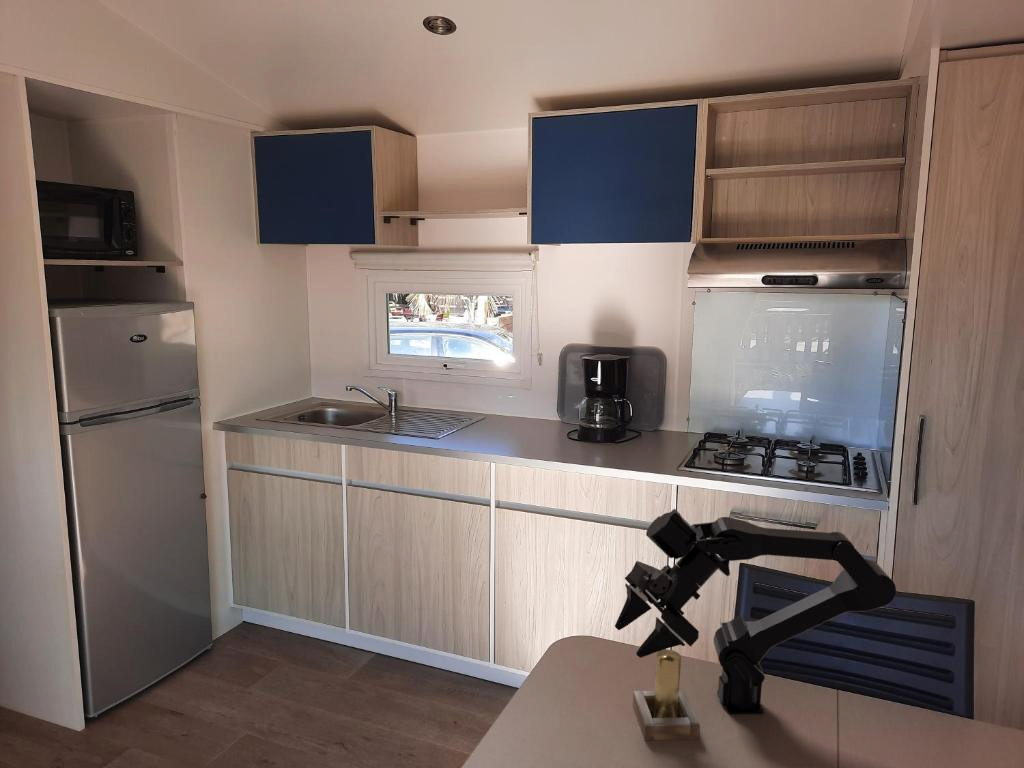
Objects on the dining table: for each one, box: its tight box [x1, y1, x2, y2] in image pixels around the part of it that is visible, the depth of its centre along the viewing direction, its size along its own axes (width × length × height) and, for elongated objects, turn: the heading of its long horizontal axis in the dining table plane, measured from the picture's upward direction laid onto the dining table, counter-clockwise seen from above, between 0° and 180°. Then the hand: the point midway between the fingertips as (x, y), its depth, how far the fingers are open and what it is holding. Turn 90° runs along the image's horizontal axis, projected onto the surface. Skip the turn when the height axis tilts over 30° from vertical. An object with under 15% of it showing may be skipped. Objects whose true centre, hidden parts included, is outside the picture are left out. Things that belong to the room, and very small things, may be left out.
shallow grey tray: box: [632, 689, 701, 741], centre depth 125 cm, size 9×9×3 cm
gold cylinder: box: [653, 648, 682, 718], centre depth 124 cm, size 4×4×12 cm
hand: (626, 641), depth 126 cm, fingers open, 9 cm apart
